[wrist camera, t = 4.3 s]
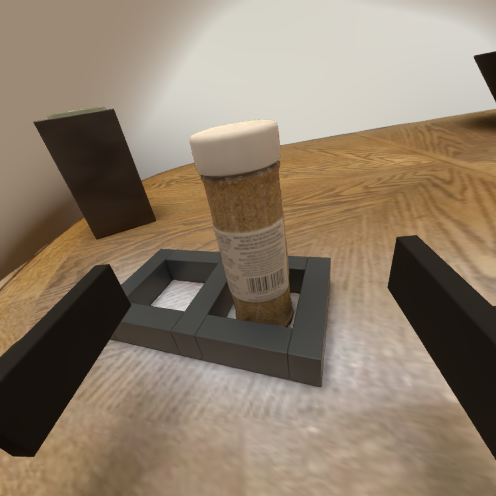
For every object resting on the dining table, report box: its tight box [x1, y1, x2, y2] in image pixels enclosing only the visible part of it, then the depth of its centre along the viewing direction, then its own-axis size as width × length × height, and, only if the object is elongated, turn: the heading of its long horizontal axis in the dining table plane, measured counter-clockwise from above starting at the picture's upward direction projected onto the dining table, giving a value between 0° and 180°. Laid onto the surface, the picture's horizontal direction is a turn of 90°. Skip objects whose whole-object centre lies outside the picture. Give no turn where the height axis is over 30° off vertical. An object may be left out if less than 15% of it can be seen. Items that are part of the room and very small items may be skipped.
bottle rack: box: [110, 249, 331, 387], centre depth 20 cm, size 17×9×2 cm, turn 71°
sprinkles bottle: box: [190, 120, 293, 327], centre depth 16 cm, size 5×5×13 cm
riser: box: [34, 109, 156, 239], centre depth 38 cm, size 9×9×16 cm
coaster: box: [47, 107, 106, 119], centre depth 34 cm, size 7×7×1 cm
